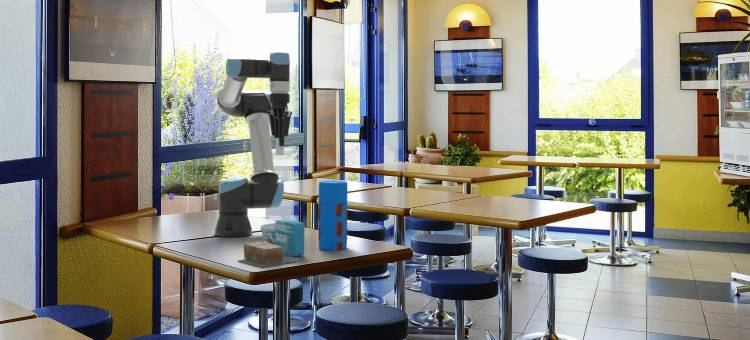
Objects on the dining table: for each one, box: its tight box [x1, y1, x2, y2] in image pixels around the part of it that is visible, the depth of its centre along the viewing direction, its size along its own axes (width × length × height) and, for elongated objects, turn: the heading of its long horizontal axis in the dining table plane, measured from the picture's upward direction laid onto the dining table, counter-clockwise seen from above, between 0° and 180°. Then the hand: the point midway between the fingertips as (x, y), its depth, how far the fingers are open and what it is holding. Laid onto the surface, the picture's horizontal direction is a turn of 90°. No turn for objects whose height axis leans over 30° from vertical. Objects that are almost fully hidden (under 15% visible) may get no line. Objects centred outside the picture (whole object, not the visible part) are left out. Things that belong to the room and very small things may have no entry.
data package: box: [274, 219, 306, 258], centre depth 274 cm, size 12×4×12 cm, turn 43°
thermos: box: [318, 180, 348, 252], centre depth 287 cm, size 11×11×25 cm
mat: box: [237, 257, 297, 269], centre depth 261 cm, size 14×14×1 cm
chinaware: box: [260, 222, 275, 245], centre depth 291 cm, size 15×15×8 cm
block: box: [243, 241, 284, 264], centre depth 262 cm, size 5×7×13 cm
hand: (279, 154), depth 293 cm, fingers closed
